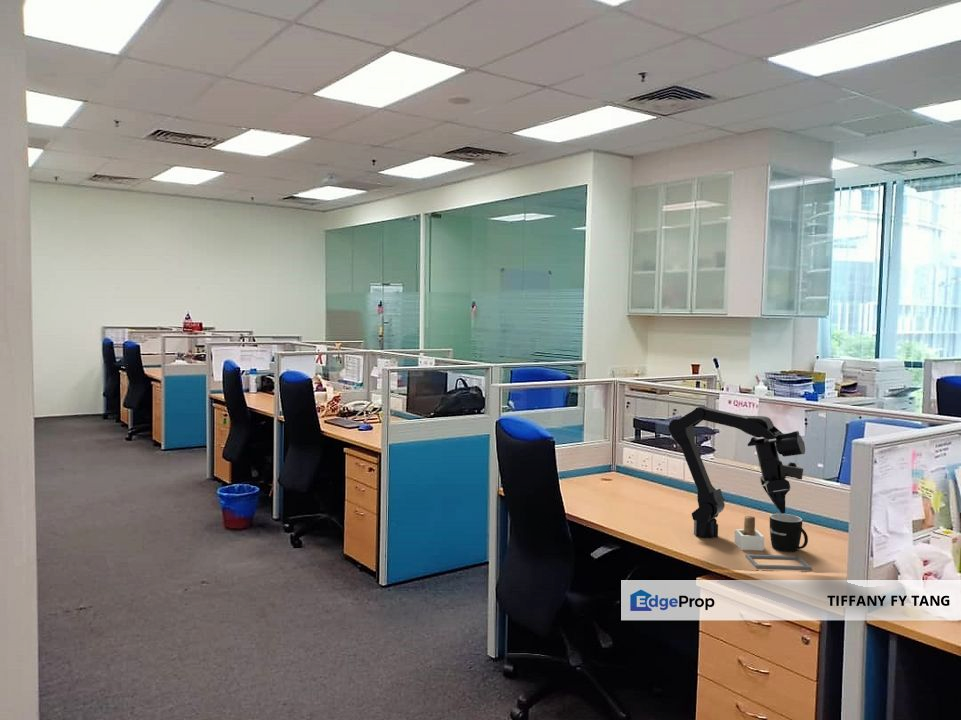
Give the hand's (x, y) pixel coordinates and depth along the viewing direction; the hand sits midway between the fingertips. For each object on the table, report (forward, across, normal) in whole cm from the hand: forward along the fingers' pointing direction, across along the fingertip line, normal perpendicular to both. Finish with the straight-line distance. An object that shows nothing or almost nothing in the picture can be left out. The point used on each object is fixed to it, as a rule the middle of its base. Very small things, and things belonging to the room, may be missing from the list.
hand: (781, 510), depth 205 cm
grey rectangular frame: (+13, -10, +5) cm, 17 cm away
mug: (+13, +4, 0) cm, 14 cm away
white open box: (+10, +3, +11) cm, 15 cm away
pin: (+10, +3, +11) cm, 15 cm away
